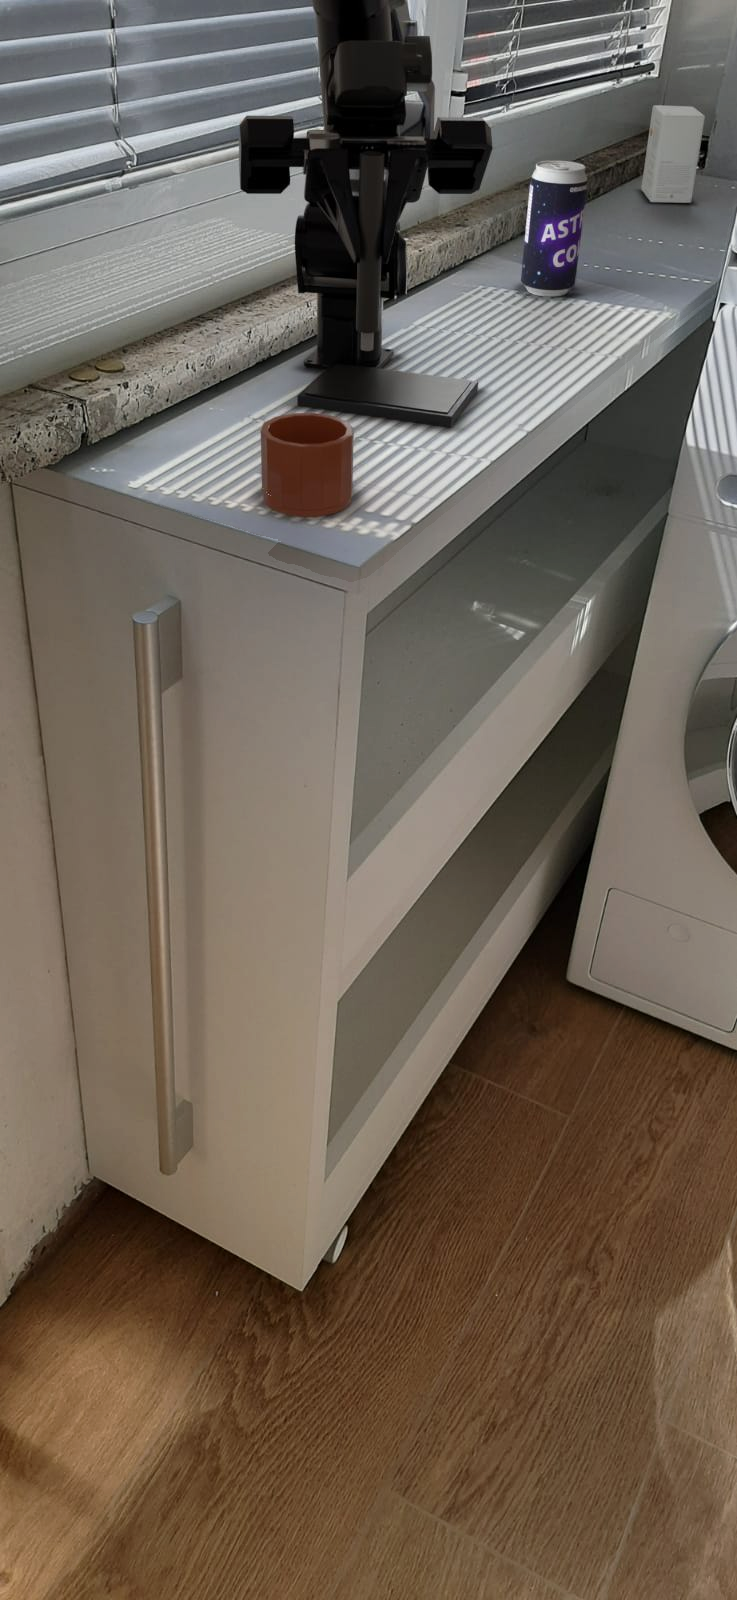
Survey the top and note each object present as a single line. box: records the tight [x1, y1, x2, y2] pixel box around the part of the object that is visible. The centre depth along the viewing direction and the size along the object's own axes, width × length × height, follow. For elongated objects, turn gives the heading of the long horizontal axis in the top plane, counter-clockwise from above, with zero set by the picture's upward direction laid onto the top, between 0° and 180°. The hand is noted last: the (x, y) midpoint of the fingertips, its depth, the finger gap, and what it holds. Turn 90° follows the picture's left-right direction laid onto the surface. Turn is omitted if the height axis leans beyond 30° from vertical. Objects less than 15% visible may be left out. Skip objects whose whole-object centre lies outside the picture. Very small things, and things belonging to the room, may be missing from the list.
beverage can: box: [520, 160, 589, 298], centre depth 129 cm, size 6×6×12 cm
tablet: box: [296, 364, 479, 428], centre depth 104 cm, size 9×13×1 cm
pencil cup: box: [260, 412, 355, 518], centre depth 87 cm, size 6×6×5 cm
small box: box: [640, 104, 706, 204], centre depth 168 cm, size 8×6×10 cm
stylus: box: [356, 151, 385, 351], centre depth 95 cm, size 2×2×14 cm
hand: (371, 260), depth 94 cm, fingers closed on stylus, 2 cm apart
